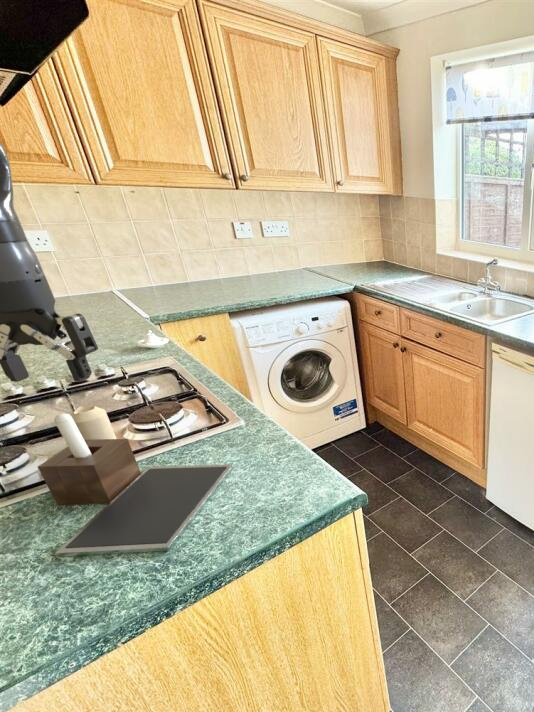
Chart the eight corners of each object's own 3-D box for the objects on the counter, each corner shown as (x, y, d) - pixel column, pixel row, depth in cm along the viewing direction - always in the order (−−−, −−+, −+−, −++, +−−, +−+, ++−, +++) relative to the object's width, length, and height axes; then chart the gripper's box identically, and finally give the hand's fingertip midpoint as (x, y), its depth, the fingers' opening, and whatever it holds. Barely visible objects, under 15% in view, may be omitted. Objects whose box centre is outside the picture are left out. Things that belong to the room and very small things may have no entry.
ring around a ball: (135, 352, 130) (168, 349, 133) (129, 335, 127) (162, 332, 131) (141, 345, 136) (171, 342, 140) (135, 328, 134) (167, 326, 137)
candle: (83, 450, 84) (63, 406, 80) (119, 441, 88) (102, 399, 83) (82, 463, 80) (62, 418, 76) (120, 453, 84) (103, 410, 80)
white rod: (91, 493, 73) (48, 418, 66) (99, 485, 75) (58, 411, 67) (104, 493, 74) (62, 417, 66) (112, 485, 75) (72, 411, 68)
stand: (57, 505, 70) (37, 466, 67) (93, 476, 77) (77, 439, 74) (110, 503, 71) (93, 465, 68) (141, 474, 79) (127, 438, 75)
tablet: (56, 557, 61) (54, 552, 61) (149, 469, 80) (148, 466, 80) (169, 551, 63) (168, 546, 63) (234, 467, 82) (233, 463, 82)
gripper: (-87, 278, 54) (-26, 390, 61) (39, 281, 56) (85, 389, 63) (-27, 268, 61) (22, 370, 68) (83, 271, 63) (120, 370, 70)
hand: (52, 379), depth 65 cm, fingers open, 8 cm apart
